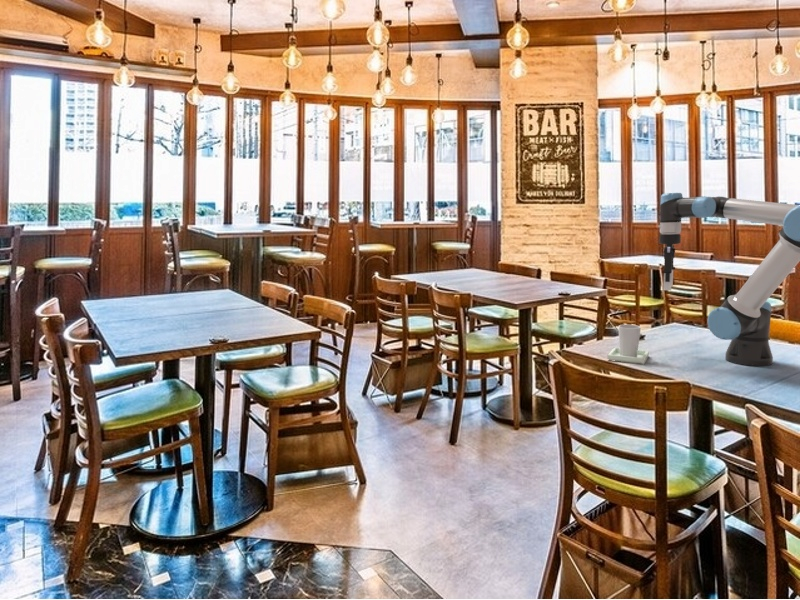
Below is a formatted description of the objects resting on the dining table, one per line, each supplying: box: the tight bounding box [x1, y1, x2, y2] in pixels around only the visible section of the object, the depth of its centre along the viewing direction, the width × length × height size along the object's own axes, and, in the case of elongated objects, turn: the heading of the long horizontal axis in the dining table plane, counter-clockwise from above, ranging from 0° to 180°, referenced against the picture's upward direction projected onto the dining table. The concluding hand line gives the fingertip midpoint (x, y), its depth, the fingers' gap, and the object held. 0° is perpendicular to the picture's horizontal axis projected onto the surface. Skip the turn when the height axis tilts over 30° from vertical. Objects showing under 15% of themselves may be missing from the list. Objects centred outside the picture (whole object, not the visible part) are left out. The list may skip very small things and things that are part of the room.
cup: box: [618, 323, 642, 357], centre depth 221 cm, size 8×8×12 cm
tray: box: [607, 347, 650, 365], centre depth 222 cm, size 13×13×2 cm
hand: (668, 288), depth 225 cm, fingers open, 13 cm apart
